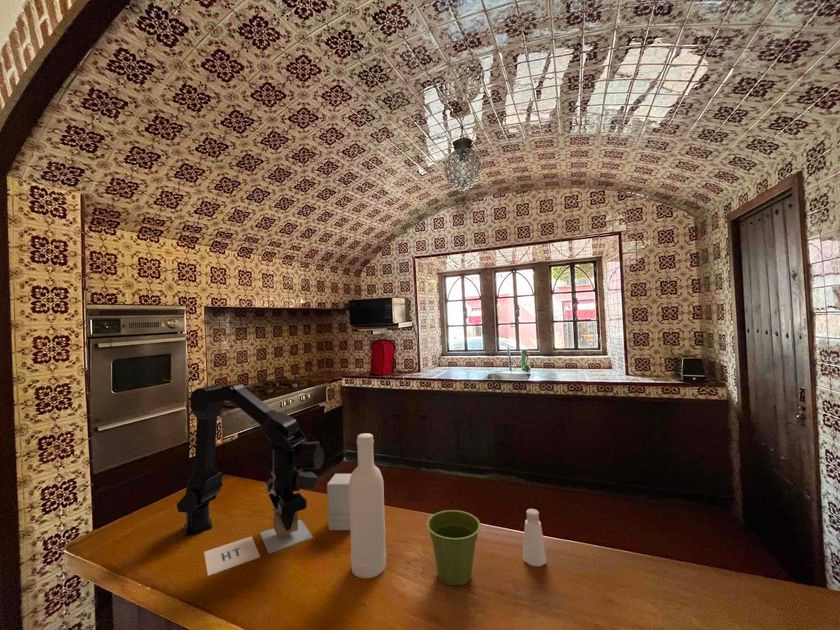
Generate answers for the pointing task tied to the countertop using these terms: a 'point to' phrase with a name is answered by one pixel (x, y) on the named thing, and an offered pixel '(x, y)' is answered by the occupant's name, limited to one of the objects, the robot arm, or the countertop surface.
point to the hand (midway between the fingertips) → (285, 525)
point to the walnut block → (280, 527)
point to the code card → (230, 555)
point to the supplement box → (339, 502)
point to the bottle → (367, 513)
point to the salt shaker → (533, 540)
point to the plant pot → (454, 544)
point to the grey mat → (285, 538)
